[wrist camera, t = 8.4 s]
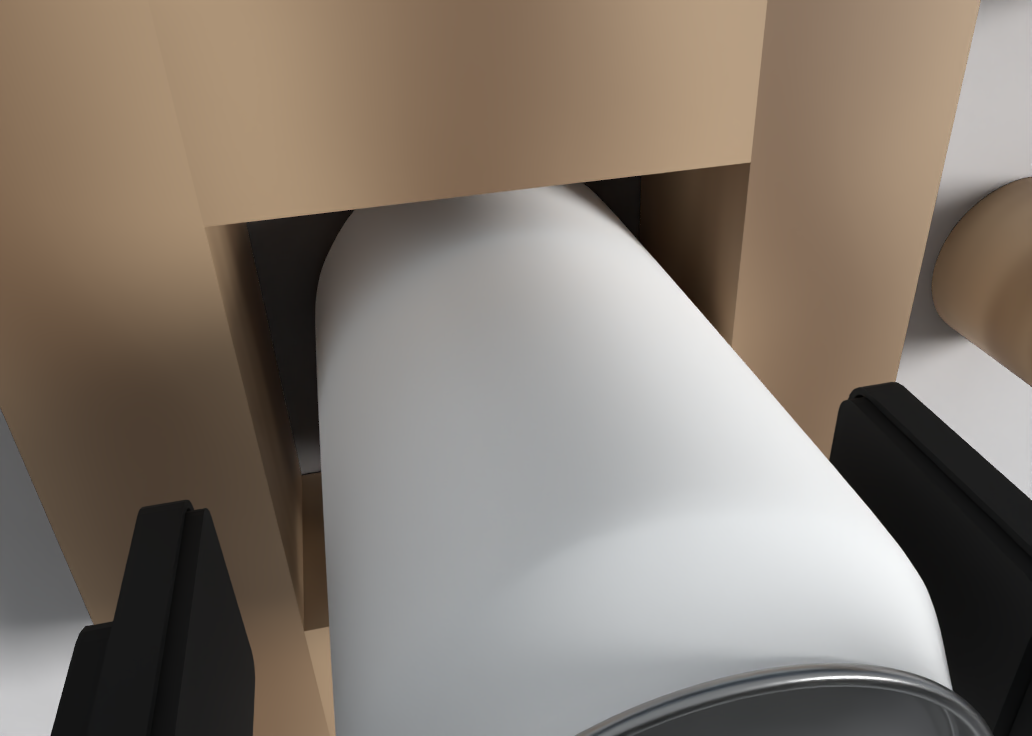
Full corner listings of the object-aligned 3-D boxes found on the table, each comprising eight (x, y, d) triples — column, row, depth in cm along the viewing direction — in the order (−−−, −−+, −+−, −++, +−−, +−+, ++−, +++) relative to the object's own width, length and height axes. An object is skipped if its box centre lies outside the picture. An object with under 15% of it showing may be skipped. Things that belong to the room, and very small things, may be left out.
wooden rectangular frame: (826, -118, 15) (1004, -104, 11) (746, 501, 22) (838, 634, 19) (-45, -62, 13) (-185, -23, 9) (185, 606, 20) (161, 781, 16)
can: (457, 68, 15) (771, 499, 5) (687, 268, 18) (1157, 777, 8) (246, 331, 17) (181, 1036, 7) (489, 474, 20) (685, 1101, 10)
